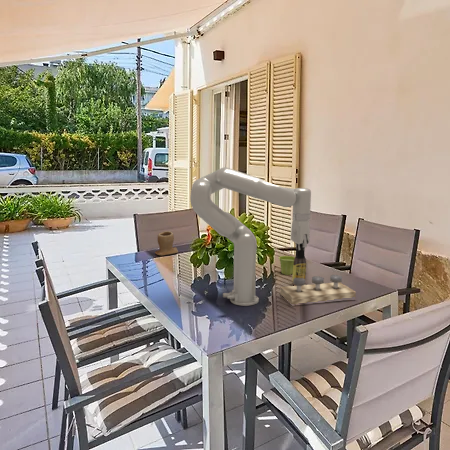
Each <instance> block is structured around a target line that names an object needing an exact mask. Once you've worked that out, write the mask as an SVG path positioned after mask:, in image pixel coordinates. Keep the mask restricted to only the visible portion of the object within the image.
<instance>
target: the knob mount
mask: <svg viewBox="0 0 450 450" xmlns="http://www.w3.org/2000/svg"><path fill="white" fill-rule="evenodd" d="M333 285H334V282H326V283H325V282H324V283H323V284H320V290H318V291H316V290H315V284H314V283H312V284H305V285H303V286H301V292H297V286H293V285H288V286H280V289H279V291H280V293H279V295H280V294H281V295H282V296H283V297H284V298H285V299H286V300H288V301H289V302H290V303H291V304H298V303H307V302H318V301H327V300H334V299H342V298H352V297H355V298H356V296H357V295H356V293H357V291H355V290H354V289H353V288H350V287H349V286H348V285H345V284H343V283H342V282H340V283H338V289H333ZM282 296H281V297H282ZM283 297H282V298H283ZM284 298H283V299H284ZM285 299H284V300H285ZM286 300H285V301H286Z"/></svg>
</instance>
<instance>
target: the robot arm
mask: <svg viewBox="0 0 450 450" xmlns="http://www.w3.org/2000/svg"><path fill="white" fill-rule="evenodd" d="M223 189H227V190H229V191H233V192H236V193H239V194H242V195H245V196H248V197H251V198H254V199H258V200H261V201H265V202H267V203H270V204H273V205H277V206H280V207H283V208H291V207H292V222H291V230H290V231H291V232H290V240H291V241H292V242H293V243H295V257H296V258H297V259H304V256H305V255H304V254H305V251H304V250H306V248H307V247H308V244H309V243H310V238H311V236H310V232H311V229H310V221H311V209H312V208H311V206H312V205H311V203H312V191H311V189H310V188H307V187H296V188H294V187H293V188H290V187H284V186H280V185H277V184H273V183H271V182H268V181H266V180H264V179H263V178H260V177H258V176H255V175H251V174H248V173H245V172H242V171H239V170H236V169H233V168H230V167H227V166H223V167H221V168H218V169H217V170H214V171H213V172H210V173H208V174H206V175H204V176H201V177H199V178H197V179H196V180H195V181H193V183H192V185H191V191H190V201H189V202H190V205H191V208H192V210H193V212H194V213H195V215H197V216H198V217H199V218H200V219H202V221H204V222H205V223H206V224H207V225H208V226H209V227H211V228H212V229H213V230H214V231H215V232H217V234H219V236H222V237H225V238H226V239H228V240H229V241H230V242H231V243H233V289H232V290H231V291H230V292H223V293H222V297H223V299H224V298H226V299H229V301H230V302H231V304H233V305H235V306H244V307H248V306H254V305H257V304H258V303H259V301H260V298H259V297H258V296H257V295H256V273H257V272H256V271H257V270H256V268H257V267H256V266H257V265H256V263H257V261H256V259H257V248H258V247H257V246H258V244H257V242H258V241H257V239H256V236H255V235H254V233H253V232H252V231H251V229H250V228H248V227H247V226H246V225H245V224H244V223H242V222H241V221H240V220H239V219H238V218H237V217H235V216H234V215H233V214H231V213H229V212H227V211H224V210H223V209H222V208H220V207H219V206H218V204H216V203H215V202H213V200H212V198H211V195H213V194H214V193H217V192H218V191H220V190H221V191H222V190H223Z"/></svg>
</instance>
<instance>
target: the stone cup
mask: <svg viewBox="0 0 450 450" xmlns="http://www.w3.org/2000/svg"><path fill="white" fill-rule="evenodd" d="M174 240H175V235H174V233H173V232H172V231H169V230H168V231H167V230H165V231H162V232H159V233H158V234H157V244H158V246H159V247H158V248H159V249H158V250H156V251H154V253H155V255H157V256H161V257H162V256H168V255H173V254H178V253H179V250H178V248H177V247H176V246H175V247H173V246H174V245H173V244H174Z"/></svg>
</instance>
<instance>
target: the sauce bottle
mask: <svg viewBox="0 0 450 450" xmlns="http://www.w3.org/2000/svg"><path fill="white" fill-rule="evenodd" d="M305 250H306V249H305ZM305 250H304V252H306V251H305ZM294 257H295V259H294V264H293V274H292V281H291V282H292V286H293V285H294V284H293V279H294V278H303V279H305V280H306V274H307V258H306V256H305V253H304V259H297V258H296V256H294ZM294 286H297V285H294Z"/></svg>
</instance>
